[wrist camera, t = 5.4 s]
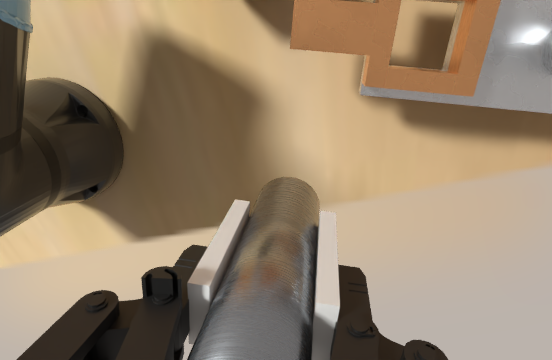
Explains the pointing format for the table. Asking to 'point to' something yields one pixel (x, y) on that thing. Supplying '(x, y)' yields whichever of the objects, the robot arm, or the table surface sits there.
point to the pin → (267, 282)
